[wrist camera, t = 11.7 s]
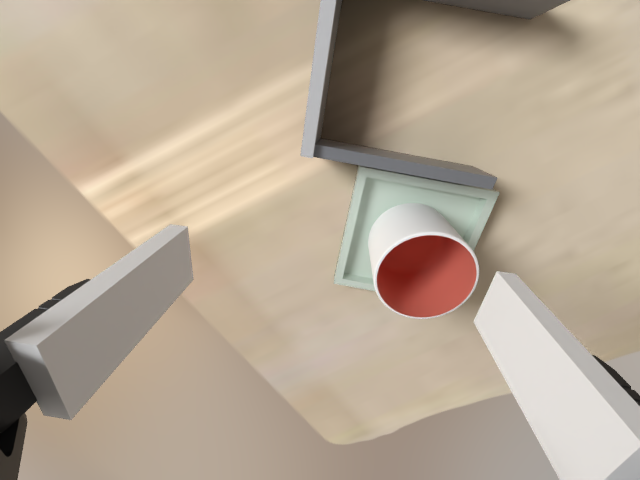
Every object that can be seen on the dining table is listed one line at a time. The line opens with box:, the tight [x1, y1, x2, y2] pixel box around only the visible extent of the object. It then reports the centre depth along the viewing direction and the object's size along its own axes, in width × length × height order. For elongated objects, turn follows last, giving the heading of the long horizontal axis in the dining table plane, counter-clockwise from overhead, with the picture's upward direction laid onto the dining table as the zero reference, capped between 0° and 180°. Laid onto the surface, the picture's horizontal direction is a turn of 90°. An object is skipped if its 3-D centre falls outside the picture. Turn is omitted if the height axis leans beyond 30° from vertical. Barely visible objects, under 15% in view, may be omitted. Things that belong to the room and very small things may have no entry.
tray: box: [334, 165, 500, 291], centre depth 37 cm, size 16×16×2 cm
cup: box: [368, 203, 479, 319], centre depth 33 cm, size 10×10×10 cm
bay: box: [301, 0, 570, 190], centre depth 27 cm, size 16×19×7 cm
